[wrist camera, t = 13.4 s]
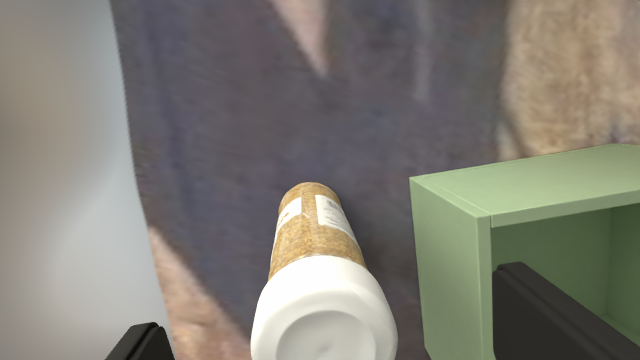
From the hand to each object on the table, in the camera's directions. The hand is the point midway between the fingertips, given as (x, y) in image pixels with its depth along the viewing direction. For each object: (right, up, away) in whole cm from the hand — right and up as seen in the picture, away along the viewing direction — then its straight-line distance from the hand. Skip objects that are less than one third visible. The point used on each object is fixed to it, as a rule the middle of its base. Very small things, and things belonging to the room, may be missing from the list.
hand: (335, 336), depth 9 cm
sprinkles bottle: (-1, +2, +14) cm, 14 cm away
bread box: (+15, -1, +15) cm, 21 cm away
